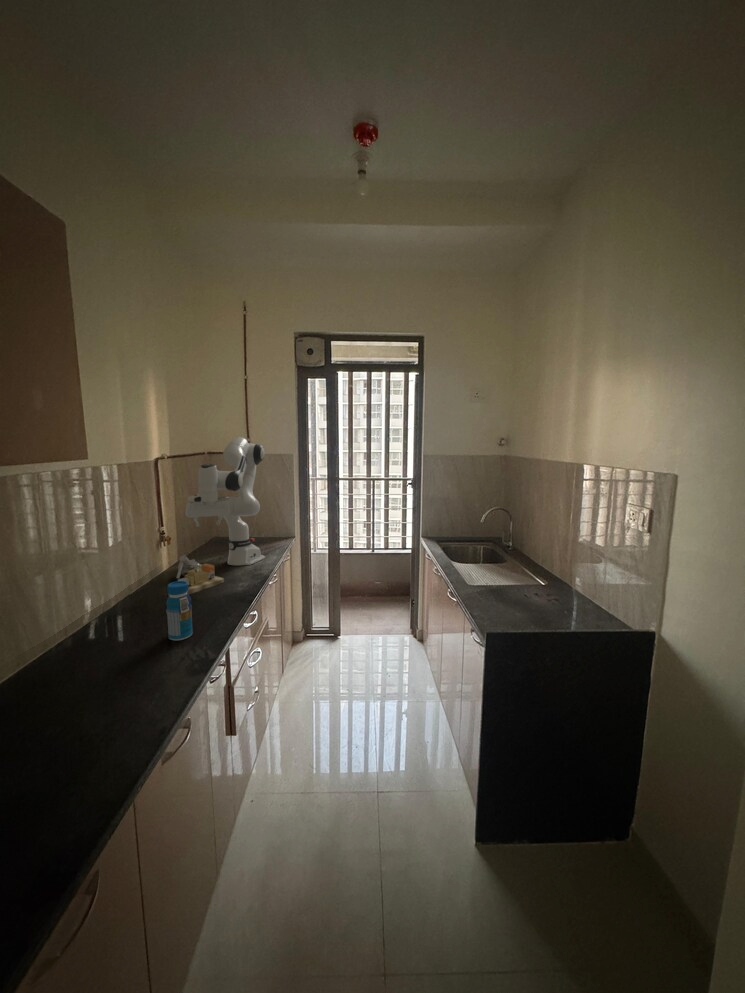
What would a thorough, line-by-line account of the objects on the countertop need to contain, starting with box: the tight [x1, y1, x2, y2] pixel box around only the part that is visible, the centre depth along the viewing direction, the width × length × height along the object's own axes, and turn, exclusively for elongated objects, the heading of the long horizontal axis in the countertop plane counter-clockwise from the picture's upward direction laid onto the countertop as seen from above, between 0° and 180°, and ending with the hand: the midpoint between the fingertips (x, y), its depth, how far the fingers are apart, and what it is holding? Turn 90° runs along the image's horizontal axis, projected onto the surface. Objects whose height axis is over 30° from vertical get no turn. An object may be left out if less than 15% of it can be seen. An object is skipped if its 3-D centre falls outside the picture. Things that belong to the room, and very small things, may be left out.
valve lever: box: [193, 562, 215, 573], centre depth 190 cm, size 13×3×3 cm, turn 59°
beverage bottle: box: [165, 581, 194, 642], centre depth 144 cm, size 8×8×20 cm
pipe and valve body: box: [178, 567, 216, 586], centre depth 193 cm, size 18×5×8 cm, turn 149°
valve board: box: [187, 575, 225, 596], centre depth 194 cm, size 22×12×2 cm, turn 149°
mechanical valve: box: [171, 554, 199, 583], centre depth 202 cm, size 10×18×15 cm
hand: (208, 525), depth 192 cm, fingers open, 8 cm apart
